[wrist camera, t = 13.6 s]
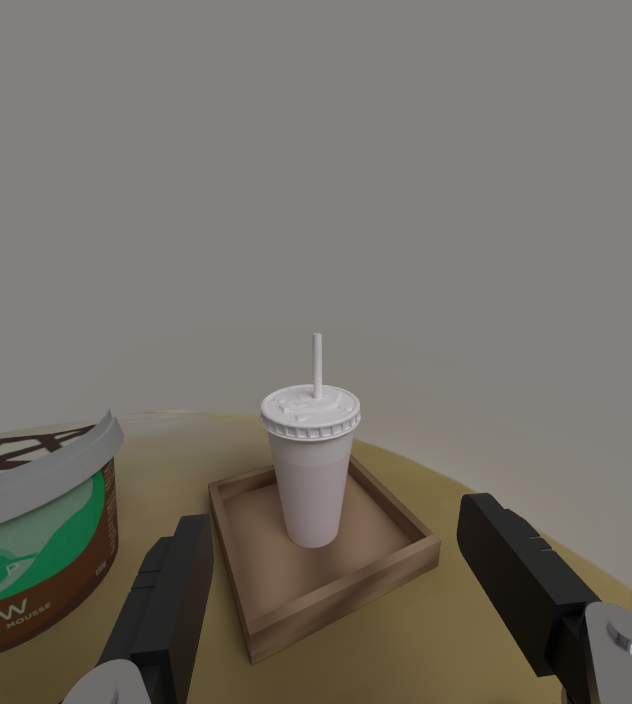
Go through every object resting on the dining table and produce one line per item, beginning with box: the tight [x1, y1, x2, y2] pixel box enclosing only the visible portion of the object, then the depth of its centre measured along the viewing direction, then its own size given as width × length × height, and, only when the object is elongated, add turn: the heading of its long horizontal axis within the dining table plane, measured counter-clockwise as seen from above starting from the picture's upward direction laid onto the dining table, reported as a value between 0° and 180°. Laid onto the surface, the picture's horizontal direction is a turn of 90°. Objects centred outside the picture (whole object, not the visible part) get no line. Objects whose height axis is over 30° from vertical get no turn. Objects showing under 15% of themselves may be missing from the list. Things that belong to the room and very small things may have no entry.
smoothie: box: [260, 333, 360, 548], centre depth 22 cm, size 6×6×14 cm
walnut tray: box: [208, 454, 441, 665], centre depth 24 cm, size 12×12×2 cm
